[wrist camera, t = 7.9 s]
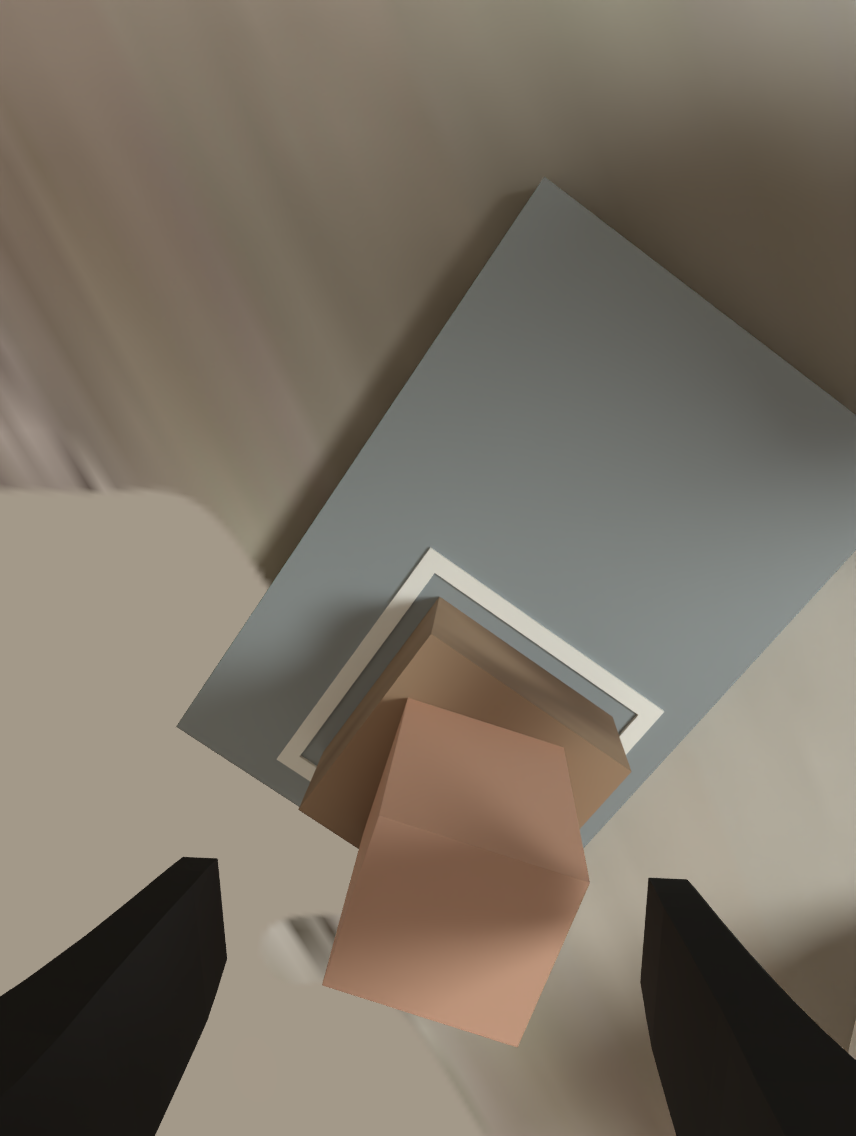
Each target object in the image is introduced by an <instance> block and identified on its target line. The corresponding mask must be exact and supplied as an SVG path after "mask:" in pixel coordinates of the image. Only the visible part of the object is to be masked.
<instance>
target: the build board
mask: <svg viewBox="0 0 856 1136" xmlns="http://www.w3.org/2000/svg"><path fill="white" fill-rule="evenodd" d="M855 550H856V415H855V414H854V413H853V412H851V411H850V410H849V409H847V408H846V407H845V406H844V405H842V404H841V403H840V402H838V401H837V400H836V399H834V398H833V397H832V396H830V395H829V394H828V393H827V392H825V391H824V390H823V389H821V388H820V387H819V386H817V385H816V384H815V383H814V382H812V381H811V380H810V379H808V378H807V377H806V376H804V375H803V374H802V373H800V372H799V371H798V370H797V369H795V368H794V367H793V366H791V365H790V364H789V363H787V362H786V361H785V360H783V359H782V358H781V357H780V356H778V355H777V354H776V353H774V352H773V351H772V350H770V349H769V348H768V347H766V346H765V345H764V344H763V343H761V342H760V341H759V340H757V339H756V338H755V337H753V336H752V335H751V334H749V333H748V332H747V331H746V330H744V329H743V328H742V327H740V326H739V325H738V324H736V323H735V322H734V321H733V320H731V319H730V318H729V317H727V316H726V315H725V314H723V313H722V312H721V311H719V310H718V309H717V308H716V307H714V306H713V305H712V304H710V303H709V302H708V301H706V300H705V299H704V298H702V297H701V296H700V295H699V294H697V293H696V292H695V291H693V290H692V289H691V288H689V287H688V286H687V285H685V284H684V283H683V282H682V281H680V280H679V279H678V278H676V277H675V276H674V275H672V274H671V273H670V272H668V271H667V270H666V269H665V268H663V267H662V266H661V265H659V264H658V263H657V262H655V261H654V260H653V259H652V258H650V257H649V256H648V255H646V254H645V253H644V252H642V251H641V250H640V249H638V248H637V247H636V246H635V245H633V244H632V243H631V242H629V241H628V240H627V239H625V238H624V237H623V236H621V235H620V234H619V233H618V232H616V231H615V230H614V229H612V228H611V227H610V226H608V225H607V224H606V223H604V222H603V221H602V220H601V219H599V218H598V217H597V216H595V215H594V214H593V213H591V212H590V211H589V210H588V209H586V208H585V207H584V206H582V205H581V204H580V203H578V202H577V201H576V200H574V199H573V198H572V197H571V196H569V195H568V194H567V193H565V192H564V191H563V190H561V189H560V188H559V187H557V186H556V185H555V184H554V183H552V182H551V181H550V180H548V179H547V178H546V177H544V178H543V179H542V181H541V182H540V184H539V185H538V187H537V188H536V190H535V191H534V193H533V194H532V196H531V197H530V199H529V200H528V202H527V203H526V205H525V206H524V208H523V209H522V211H521V212H520V214H519V215H518V217H517V218H516V220H515V221H514V223H513V224H512V226H511V227H510V229H509V230H508V232H507V233H506V235H505V236H504V238H503V239H502V241H501V242H500V244H499V245H498V247H497V248H496V250H495V251H494V253H493V254H492V256H491V257H490V258H489V260H488V261H487V263H486V264H485V266H484V267H483V269H482V270H481V272H480V273H479V275H478V276H477V278H476V279H475V281H474V282H473V284H472V285H471V287H470V288H469V290H468V291H467V293H466V294H465V296H464V297H463V299H462V300H461V302H460V303H459V305H458V306H457V308H456V309H455V311H454V312H453V314H452V315H451V317H450V318H449V320H448V321H447V323H446V324H445V326H444V327H443V329H442V330H441V332H440V333H439V335H438V336H437V338H436V339H435V341H434V342H433V344H432V345H431V347H430V348H429V350H428V351H427V353H426V354H425V356H424V357H423V359H422V360H421V362H420V363H419V365H418V366H417V368H416V369H415V371H414V372H413V374H412V375H411V377H410V378H409V380H408V381H407V383H406V384H405V386H404V387H403V388H402V390H401V391H400V393H399V394H398V396H397V397H396V399H395V400H394V402H393V403H392V405H391V406H390V408H389V409H388V411H387V412H386V414H385V415H384V417H383V418H382V420H381V421H380V423H379V424H378V426H377V427H376V429H375V430H374V432H373V433H372V435H371V436H370V438H369V439H368V441H367V442H366V444H365V445H364V447H363V448H362V450H361V451H360V453H359V454H358V456H357V457H356V459H355V460H354V462H353V463H352V465H351V466H350V468H349V469H348V471H347V472H346V474H345V475H344V477H343V478H342V480H341V481H340V483H339V484H338V486H337V487H336V489H335V490H334V492H333V493H332V495H331V496H330V498H329V499H328V501H327V502H326V504H325V505H324V507H323V508H322V510H321V511H320V513H319V514H318V516H317V517H316V519H315V520H314V521H313V523H312V524H311V526H310V527H309V529H308V530H307V532H306V533H305V535H304V536H303V538H302V539H301V541H300V542H299V544H298V545H297V547H296V548H295V550H294V551H293V553H292V554H291V556H290V557H289V559H288V560H287V562H286V563H285V565H284V566H283V568H282V569H281V571H280V572H279V574H278V575H277V577H276V578H275V580H274V581H273V583H272V584H271V586H270V587H269V589H268V590H267V592H266V593H265V595H264V596H263V598H262V599H261V601H260V602H259V604H258V605H257V607H256V608H255V610H254V611H253V613H252V614H251V616H250V617H249V619H248V620H247V622H246V623H245V625H244V626H243V628H242V629H241V631H240V632H239V634H238V635H237V637H236V638H235V640H234V641H233V643H232V644H231V646H230V647H229V649H228V650H227V652H226V653H225V655H224V656H223V657H222V659H221V660H220V662H219V663H218V665H217V666H216V668H215V669H214V671H213V672H212V674H211V675H210V677H209V679H208V680H207V681H206V683H205V684H204V686H203V688H202V689H201V690H200V692H199V693H198V695H197V697H196V698H195V699H194V701H193V702H192V704H191V705H190V707H189V708H188V710H187V711H186V713H185V714H184V716H183V717H182V719H181V720H180V722H179V723H178V725H177V727H178V728H179V729H181V730H182V731H184V732H185V733H187V734H188V735H190V736H191V737H193V738H195V739H196V740H198V741H199V742H201V743H202V744H204V745H205V746H207V747H208V748H210V749H211V750H213V751H214V752H216V753H217V754H219V755H221V756H222V757H224V758H225V759H227V760H228V761H230V762H231V763H233V764H234V765H236V766H238V767H239V768H241V769H242V770H244V771H245V772H247V773H248V774H250V775H251V776H253V777H254V778H256V779H257V780H259V781H260V782H262V783H263V784H265V785H267V786H268V787H270V788H271V789H273V790H274V791H276V792H277V793H279V794H281V795H282V796H284V797H285V798H287V799H288V800H290V801H291V802H293V803H294V804H296V805H297V806H299V807H300V805H301V802H302V800H303V798H304V795H305V793H306V791H307V788H308V786H309V784H310V781H311V779H312V777H313V774H314V772H315V770H316V768H317V765H318V763H319V761H320V758H321V756H322V754H323V752H324V750H325V749H326V748H327V746H328V745H329V744H330V742H331V741H332V740H333V738H334V737H335V736H336V734H337V733H338V732H339V730H340V729H341V728H342V726H343V725H344V724H345V722H346V721H347V719H348V718H349V717H350V715H351V714H352V713H353V711H354V710H355V709H356V707H357V706H358V705H359V703H360V702H361V701H362V699H363V698H364V697H365V695H366V694H367V693H368V691H369V690H370V689H371V687H372V686H373V685H374V683H375V682H376V681H377V679H378V678H379V677H380V675H381V674H382V673H383V671H384V670H385V669H386V667H387V666H388V665H389V663H390V662H391V661H392V659H393V658H394V657H395V655H396V654H397V653H398V651H399V650H400V649H401V647H402V646H403V645H404V643H405V642H406V641H407V639H408V638H409V637H410V635H411V634H412V633H413V631H414V630H415V629H416V627H417V626H418V624H419V623H420V622H421V620H422V619H423V618H424V616H425V615H426V614H427V612H428V611H429V610H430V608H431V607H432V606H433V604H434V603H435V602H436V600H437V599H438V598H439V596H440V597H441V598H443V599H444V600H445V601H447V602H448V603H450V604H451V605H453V606H454V607H455V608H457V609H458V610H460V611H461V612H463V613H464V614H466V615H467V616H468V617H470V618H471V619H473V620H474V621H476V622H477V623H479V624H480V625H481V626H483V627H484V628H486V629H487V630H489V631H490V632H491V633H493V634H494V635H496V636H497V637H499V638H500V639H502V640H503V641H504V642H506V643H507V644H509V645H510V646H512V647H513V648H514V649H516V650H517V651H519V652H520V653H522V654H523V655H525V656H526V657H527V658H529V659H530V660H532V661H533V662H535V663H536V664H538V665H539V666H540V667H542V668H543V669H545V670H546V671H548V672H549V673H550V674H552V675H553V676H555V677H556V678H558V679H559V680H561V681H562V682H563V683H565V684H566V685H568V686H569V687H571V688H572V689H573V690H575V691H576V692H578V693H579V694H581V695H582V696H584V697H585V698H586V699H588V700H589V701H591V702H592V703H594V704H595V705H597V706H598V707H599V708H601V709H602V710H604V711H605V712H607V713H608V714H609V715H611V716H612V717H613V720H614V722H615V725H616V728H617V731H618V734H619V737H620V740H621V743H622V746H623V748H624V751H625V754H626V757H627V760H628V763H629V766H630V769H631V773H630V774H629V775H628V776H627V777H626V778H625V780H624V781H623V782H622V783H621V784H620V785H619V786H618V787H617V788H616V790H615V791H614V792H613V793H612V794H611V795H610V796H609V797H608V798H607V799H606V801H605V802H604V803H603V804H602V805H601V806H600V807H599V808H598V809H597V811H596V812H595V813H594V814H593V815H592V816H591V817H590V818H589V819H588V821H587V822H586V823H585V824H584V825H583V826H582V827H581V828H580V834H581V839H582V845H583V848H584V847H585V846H586V845H587V844H588V843H589V842H590V841H591V839H592V838H593V837H594V836H595V835H596V834H597V833H598V832H599V831H600V830H601V828H602V827H603V826H604V825H605V824H606V823H607V822H608V821H609V820H610V819H611V818H612V816H613V815H614V814H615V813H616V812H617V811H618V810H619V809H620V808H621V807H622V805H623V804H624V803H625V802H626V801H627V800H628V799H629V798H630V797H631V796H632V795H633V793H634V792H635V791H636V790H637V789H638V788H639V787H640V786H641V785H642V784H643V783H644V781H645V780H646V779H647V778H648V777H649V776H650V775H651V774H652V773H653V772H654V770H655V769H656V768H657V767H658V766H659V765H660V764H661V763H662V762H663V761H664V760H665V758H666V757H667V756H668V755H669V754H670V753H671V752H672V751H673V750H674V749H675V747H676V746H677V745H678V744H679V743H680V742H681V741H682V740H683V739H684V738H685V737H686V735H687V734H688V733H689V732H690V731H691V730H692V729H693V728H694V727H695V726H696V724H697V723H698V722H699V721H700V720H701V719H702V718H703V717H704V716H705V715H706V714H707V712H708V711H709V710H710V709H711V708H712V707H713V706H714V705H715V704H716V703H717V701H718V700H719V699H720V698H721V697H722V696H723V695H724V694H725V693H726V692H727V691H728V689H729V688H730V687H731V686H732V685H733V684H734V683H735V682H736V681H737V680H738V678H739V677H740V676H741V675H742V674H743V673H744V672H745V671H746V670H747V669H748V668H749V666H750V665H751V664H752V663H753V662H754V661H755V660H756V659H757V658H758V657H759V655H760V654H761V653H762V652H763V651H764V650H765V649H766V648H767V647H768V646H769V645H770V643H771V642H772V641H773V640H774V639H775V638H776V637H777V636H778V635H779V634H780V632H781V631H782V630H783V629H784V628H785V627H786V626H787V625H788V624H789V623H790V622H791V620H792V619H793V618H794V617H795V616H796V615H797V614H798V613H799V612H800V611H801V609H802V608H803V607H804V606H805V605H806V604H807V603H808V602H809V601H810V600H811V599H812V597H813V596H814V595H815V594H816V593H817V592H818V591H819V590H820V589H821V588H822V587H823V585H824V584H825V583H826V582H827V581H828V580H829V579H830V578H831V577H832V576H833V574H834V573H835V572H836V571H837V570H838V569H839V568H840V567H841V566H842V565H843V564H844V562H845V561H846V560H847V559H848V558H849V557H850V556H851V555H852V554H853V553H854V551H855Z"/></svg>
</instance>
